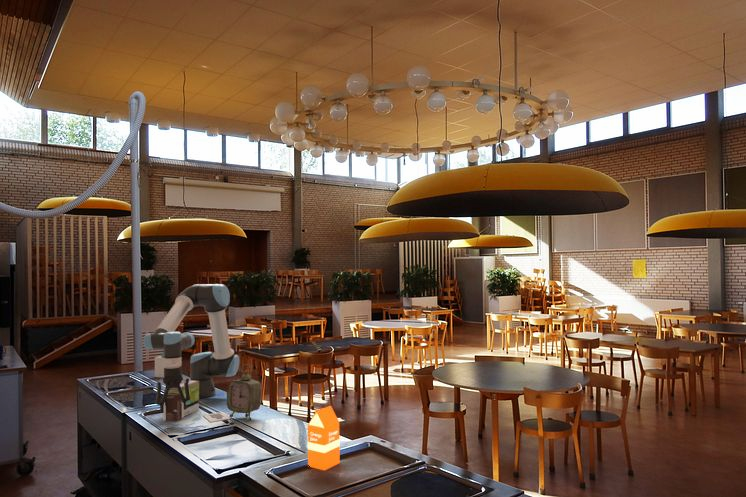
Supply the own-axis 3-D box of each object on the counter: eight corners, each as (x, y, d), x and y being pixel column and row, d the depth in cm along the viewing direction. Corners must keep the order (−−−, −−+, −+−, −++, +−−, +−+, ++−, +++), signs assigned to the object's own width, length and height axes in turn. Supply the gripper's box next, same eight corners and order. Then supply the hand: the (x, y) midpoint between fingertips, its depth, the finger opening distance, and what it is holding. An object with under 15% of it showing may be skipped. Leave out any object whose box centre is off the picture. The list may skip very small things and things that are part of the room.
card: (223, 412, 268) (223, 411, 268) (231, 418, 257) (231, 417, 257) (202, 415, 263) (202, 414, 263) (210, 422, 252) (210, 421, 252)
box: (164, 422, 244) (164, 394, 244) (169, 419, 248) (169, 392, 249) (177, 422, 243) (176, 395, 243) (182, 419, 247) (181, 392, 248)
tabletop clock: (225, 417, 257) (228, 363, 258) (238, 413, 265) (240, 361, 266) (250, 422, 250) (252, 367, 252) (262, 418, 258) (265, 364, 260)
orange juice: (307, 466, 196) (307, 409, 196) (323, 458, 203) (322, 404, 204) (324, 470, 191) (324, 412, 192) (340, 462, 199) (339, 407, 199)
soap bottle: (163, 374, 364) (163, 345, 365) (174, 375, 361) (174, 346, 362) (154, 377, 356) (154, 347, 357) (165, 377, 353) (165, 348, 354)
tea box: (183, 418, 259) (183, 386, 260) (164, 417, 261) (164, 385, 262) (199, 409, 274) (199, 379, 275) (181, 408, 276) (181, 379, 277)
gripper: (150, 370, 238) (151, 424, 237) (197, 365, 248) (198, 416, 248) (147, 368, 244) (147, 420, 244) (193, 362, 254) (193, 412, 254)
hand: (173, 418), depth 246 cm, fingers closed on box, 7 cm apart
